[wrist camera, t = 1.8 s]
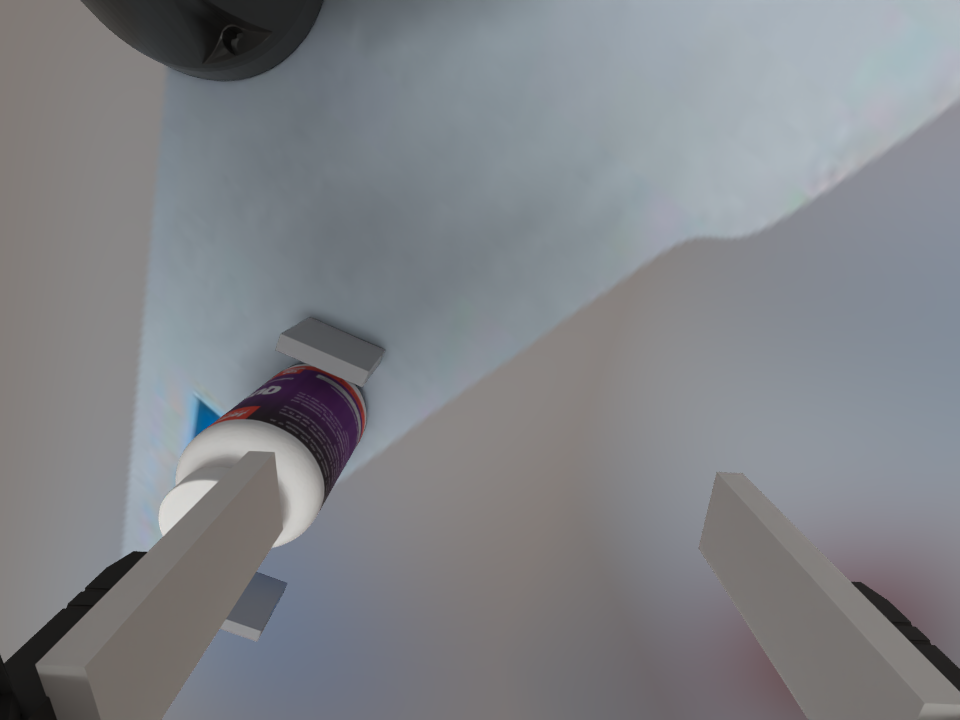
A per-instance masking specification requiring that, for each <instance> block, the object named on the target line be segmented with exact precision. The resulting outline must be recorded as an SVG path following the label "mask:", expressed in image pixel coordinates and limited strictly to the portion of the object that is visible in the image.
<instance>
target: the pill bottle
mask: <svg viewBox="0 0 960 720" xmlns="http://www.w3.org/2000/svg"><path fill="white" fill-rule="evenodd" d="M366 419H367V413H366V406H365V403H364V400H363V397H362V395H361V393H360V391H359V390H358V388H357V387H356V386H355V384H354V383H351V382H349V381H347V380H344V379H342V378H339V377H337V376H335V375H332V374H330V373H328V372H325V371H323V370H321V369H318V368H316V367H314V366H311V365H309V364H299V365H295V366H292V367H289V368H287V369H285V370H283V371H281V372H280V373H278V374H277V375H276V376H274V377H273V378H272V379H270V380H269V381H268V382H266V383H265V384H264V385H263V386H261V387H260V388H259V389H257V390H256V391H255V392H254V393H252V394H251V395H250V396H248V397H247V398H246V399H244V400H243V401H242V402H241V403H239V404H238V405H237V406H235V407H234V408H233V409H231V410H230V411H229V412H227V413H226V414H225V415H223V416H222V417H221V418H220V419H218V420H217V421H216V422H214V423H213V424H212V425H210V426H209V427H208V428H206V429H205V430H204V431H202V432H201V433H200V434H199V435H197V436H196V437H195V438H194V439H193V440H192V441H191V442H190V443H189V444H188V446H187V447H186V449H185V450H184V452H183V454H182V455H181V457H180V460H179V463H178V466H177V470H176V486H175V487H174V488H173V489H172V490H171V491H170V492H169V493H168V494H167V495H166V497H165V498H164V500H163V502H162V504H161V507H160V510H159V525H160V530H161V533H162V535H163V536H164V535H165V534H166V533H167V532H168V531H169V530H170V529H171V528H172V527H173V526H174V525H175V524H176V523H177V522H178V521H179V520H180V519H181V518H182V517H183V516H184V515H185V514H186V513H187V512H188V511H189V510H190V509H191V508H192V507H193V506H194V505H195V504H196V503H197V502H198V501H199V500H200V499H201V498H202V497H203V496H204V495H205V494H206V493H207V492H208V491H209V490H210V489H211V488H212V487H213V486H214V485H215V484H216V483H217V482H218V481H219V480H220V479H221V478H222V477H223V476H224V475H225V474H226V473H227V472H228V471H229V470H230V469H231V468H232V467H233V466H234V465H235V464H236V463H237V462H238V461H239V460H240V459H241V458H242V457H243V456H244V455H245V454H246V453H247V452H248V451H264V452H275V459H276V468H277V477H278V487H279V496H280V505H281V514H282V524H283V531H282V532H281V534H280V535H279V537H278V538H277V540H276V542H275V543H274V545H273V546H272V548H274V547H277V546H281V545H283V544H286V543H288V542H290V541H292V540H294V539H295V538H297V537H298V536H300V535H301V534H302V533H303V532H304V531H305V530H307V529H308V527H309V526H310V525H311V524H312V522H313V521H314V520H315V518H316V516H317V515H318V513H319V511H320V510H321V508H322V506H323V504H324V502H325V500H326V499H327V497H328V495H329V493H330V491H331V490H332V488H333V486H334V484H335V483H336V481H337V479H338V477H339V476H340V474H341V472H342V470H343V469H344V467H345V465H346V463H347V461H348V460H349V458H350V456H351V455H352V453H353V451H354V449H355V448H356V446H357V444H358V443H359V441H360V439H361V437H362V435H363V432H364V430H365V426H366Z"/></svg>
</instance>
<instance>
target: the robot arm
mask: <svg viewBox="0 0 960 720" xmlns="http://www.w3.org/2000/svg"><path fill="white" fill-rule="evenodd" d="M81 1H82V2H83V3H84V4H85V5H86V7H87V8H88V9H89V10H90V11H91V12H92V13H93V14H94V15H95V16H96V17H97V18H98V19H99V20H100V21H101V22H102V23H103V24H104V25H105V26H106V27H107V28H108V29H109V30H111V31H112V32H113V33H114V34H115V35H117V36H118V37H119V38H121V39H122V40H123V41H125V42H126V43H127V44H129V45H130V46H132V47H133V48H135V49H136V50H138V51H139V52H141V53H143V54H145V55H146V56H148V57H150V58H152V59H154V60H156V61H158V62H160V63H162V64H164V65H166V66H169V67H171V68H173V69H175V70H177V71H180V72H182V73H185V74H188V75H191V76H195V77H198V78H203V79H209V80H224V81H226V80H237V79H243V78H247V77H251V76H254V75H257V74H260V73H262V72H264V71H267V70H268V69H270V68H272V67H274V66H275V65H277V64H278V63H280V62H281V61H283V60H284V59H285V58H286V57H287V56H289V55H290V54H291V53H292V52H293V51H294V50H295V49H296V48H297V46H298V45H299V44H300V43H301V42H302V40H303V39H304V38H305V36H306V35H307V33H308V32H309V30H310V28H311V27H312V25H313V23H314V21H315V19H316V17H317V15H318V12H319V10H320V8H321V5H322V2H323V0H81ZM282 531H283V524H282V514H281V505H280V496H279V487H278V477H277V468H276V459H275V452H264V451H248V452H247V453H246V454H245V455H244V456H243V457H242V458H241V459H240V460H239V461H238V462H237V463H236V464H235V465H234V466H233V467H232V468H231V469H230V470H229V471H228V472H227V473H226V474H225V475H224V476H223V477H222V478H221V479H220V480H219V481H218V482H217V483H216V484H215V485H214V486H213V487H212V488H211V489H210V490H209V491H208V492H207V493H206V494H205V495H204V496H203V497H202V498H201V499H200V500H199V501H198V502H197V503H196V504H195V505H194V506H193V507H192V508H191V509H190V510H189V511H188V512H187V513H186V514H185V515H184V516H183V517H182V518H181V519H180V520H179V521H178V522H177V523H176V524H175V525H174V526H173V527H172V528H171V529H170V530H169V531H168V532H167V533H166V534H165V535H164V536H163V537H162V538H161V539H160V540H159V541H158V542H157V543H156V544H155V545H154V546H153V547H152V548H151V549H150V550H149V551H148V552H137V551H133V552H132V553H130V554H128V555H127V556H125V557H123V558H122V559H120V560H119V561H117V562H115V563H114V564H112V565H110V566H109V567H107V568H106V569H105V570H104V571H103V572H102V573H100V574H99V575H98V576H97V577H96V578H95V579H94V580H93V581H92V582H91V583H90V584H89V585H88V586H87V587H86V588H85V591H84V592H80V593H79V594H78V595H77V596H76V597H75V598H74V599H73V600H72V601H70V602H69V603H68V606H67V608H66V609H62V610H61V611H60V612H59V613H58V614H57V615H55V616H54V617H53V618H52V619H51V620H50V621H49V622H48V623H47V624H46V625H45V626H44V627H43V628H42V629H41V630H39V632H37V633H36V634H35V635H34V636H33V637H32V638H31V639H30V640H29V641H28V642H27V643H26V644H24V645H23V646H22V647H21V648H20V649H19V650H18V651H17V652H16V653H15V654H14V655H13V656H12V657H11V658H9V659H8V660H7V661H6V662H5V663H3V661H2V658H1V655H0V720H162V718H163V716H164V715H165V713H166V711H167V710H168V709H169V707H170V706H171V704H172V702H173V701H174V699H175V698H176V696H177V694H178V693H179V691H180V690H181V688H182V687H183V685H184V684H185V682H186V681H187V679H188V677H189V676H190V674H191V673H192V671H193V670H194V668H195V666H196V665H197V663H198V662H199V660H200V659H201V657H202V655H203V654H204V652H205V651H206V649H207V648H208V646H209V645H210V643H211V642H212V640H213V638H214V637H215V635H216V634H217V632H218V631H219V629H220V627H221V626H222V624H223V623H224V621H225V620H226V618H227V617H228V615H229V613H230V612H231V610H232V609H233V607H234V606H235V604H236V602H237V601H238V599H239V598H240V596H241V595H242V593H243V592H244V590H245V588H246V587H247V585H248V584H249V582H250V581H251V579H252V577H253V576H254V574H255V573H256V571H257V570H258V568H259V566H260V565H261V563H262V562H263V560H264V559H265V557H266V556H267V554H268V552H269V551H270V549H271V548H272V546H273V545H274V543H275V542H276V540H277V538H278V537H279V535H280V534H281V532H282ZM699 550H700V551H701V553H702V554H703V556H704V558H705V559H706V560H707V562H708V564H709V565H710V567H711V568H712V570H713V572H714V573H715V574H716V576H717V578H718V579H719V581H720V582H721V584H722V586H723V587H724V589H725V590H726V592H727V593H728V595H729V597H730V598H731V600H732V601H733V603H734V604H735V606H736V607H737V609H738V610H739V612H740V614H741V615H742V617H743V618H744V620H745V622H746V623H747V625H748V626H749V628H750V629H751V631H752V632H753V634H754V636H755V637H756V639H757V640H758V642H759V643H760V645H761V647H762V648H763V650H764V651H765V653H766V654H767V656H768V658H769V659H770V661H771V662H772V664H773V665H774V667H775V668H776V670H777V671H778V673H779V674H780V676H781V678H782V679H783V681H784V683H785V684H786V686H787V687H788V689H789V690H790V692H791V693H792V695H793V697H794V698H795V700H796V701H797V703H798V704H799V706H800V707H801V709H802V711H803V712H804V714H805V715H806V717H807V718H808V720H960V669H959V668H958V667H957V666H956V665H955V664H954V663H953V662H951V660H950V659H949V658H948V657H947V656H945V654H943V653H942V652H941V651H940V650H939V649H938V648H937V647H936V646H935V645H931V643H930V640H929V639H928V638H927V637H926V636H925V635H924V634H923V633H921V631H919V630H918V629H917V628H916V627H913V626H912V625H911V622H910V621H909V620H908V619H907V618H906V617H905V616H904V615H903V614H902V613H901V612H900V611H899V610H898V609H897V608H896V607H894V606H893V605H892V604H891V603H890V602H889V601H888V600H887V599H885V598H884V597H882V596H881V595H879V594H878V593H876V592H875V591H873V590H872V589H870V588H869V587H867V586H866V585H864V584H863V583H861V582H850V581H849V580H848V579H847V578H846V577H845V576H844V575H843V574H842V573H841V572H840V571H839V570H838V569H837V568H836V567H835V566H834V565H833V564H832V563H831V562H830V561H829V560H828V559H827V558H826V557H825V556H824V555H823V554H822V553H821V552H820V551H819V550H818V549H817V548H816V547H815V546H814V545H813V544H812V543H811V542H810V541H809V540H808V539H807V538H806V537H805V536H804V535H803V534H802V533H801V532H800V531H799V530H798V529H797V528H796V527H795V526H794V525H793V524H792V523H791V522H790V521H789V520H788V519H787V518H786V517H785V516H784V515H783V514H782V513H781V512H780V511H779V510H778V509H777V508H776V507H775V506H774V505H773V504H772V503H771V502H770V501H769V500H768V499H767V498H766V497H765V496H764V494H762V492H761V491H759V490H758V488H757V487H756V486H754V484H753V483H752V482H751V481H750V480H749V479H748V478H746V476H744V474H743V473H727V472H717V473H716V477H715V481H714V486H713V489H712V494H711V498H710V502H709V506H708V510H707V515H706V519H705V523H704V528H703V531H702V536H701V540H700V544H699Z"/></svg>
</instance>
